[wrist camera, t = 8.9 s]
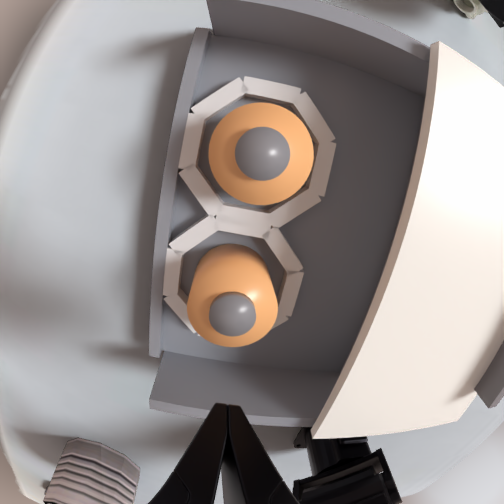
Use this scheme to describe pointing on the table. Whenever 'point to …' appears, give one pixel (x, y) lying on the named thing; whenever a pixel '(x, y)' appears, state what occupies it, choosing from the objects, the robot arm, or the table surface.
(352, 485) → the robot arm
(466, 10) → the pneumatic valve
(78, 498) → the can
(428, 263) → the lid
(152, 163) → the table surface
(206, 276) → the orange grey rounded piece
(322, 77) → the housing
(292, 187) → the orange grey domed knob
